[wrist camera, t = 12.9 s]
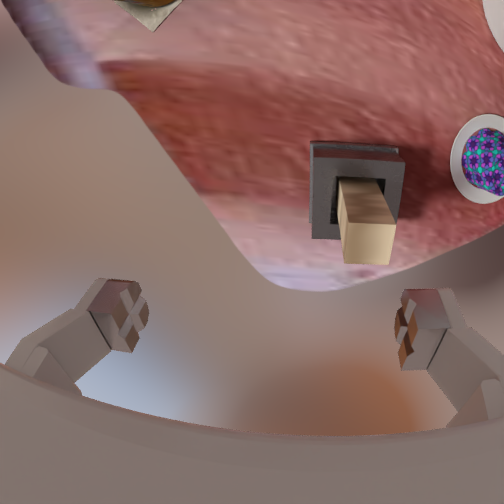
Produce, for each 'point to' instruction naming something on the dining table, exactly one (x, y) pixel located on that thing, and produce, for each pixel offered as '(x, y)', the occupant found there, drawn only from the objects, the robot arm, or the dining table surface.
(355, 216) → the wooden peg
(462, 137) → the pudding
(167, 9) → the condiment
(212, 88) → the dining table surface
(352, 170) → the socket holder
